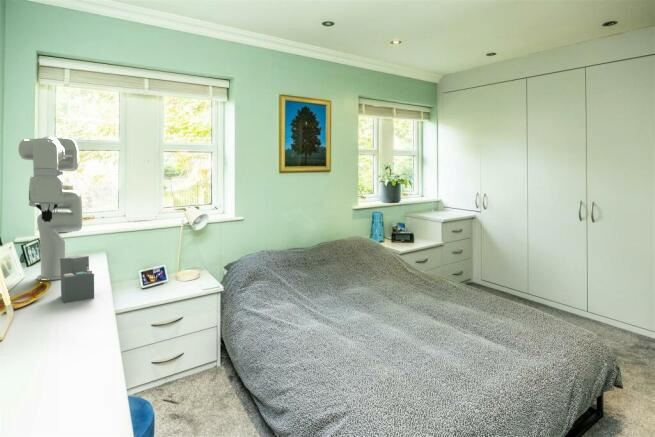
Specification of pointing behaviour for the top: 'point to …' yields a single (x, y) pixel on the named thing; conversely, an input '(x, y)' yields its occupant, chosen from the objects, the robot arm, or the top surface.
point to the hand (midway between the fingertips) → (47, 221)
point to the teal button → (79, 273)
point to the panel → (77, 287)
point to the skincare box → (74, 264)
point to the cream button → (68, 275)
